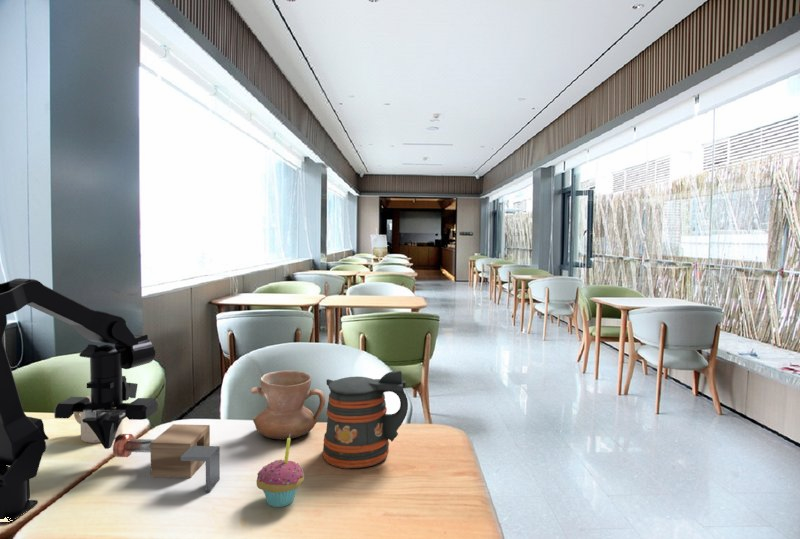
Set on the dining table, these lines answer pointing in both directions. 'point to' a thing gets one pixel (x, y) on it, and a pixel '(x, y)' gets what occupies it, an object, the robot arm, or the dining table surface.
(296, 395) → the ceramic jug
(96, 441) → the teacup with lid
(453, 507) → the dining table surface
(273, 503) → the cupcake
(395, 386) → the beer stein
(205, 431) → the hitch block
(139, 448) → the pin
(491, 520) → the dining table surface
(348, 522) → the dining table surface
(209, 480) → the bracket
